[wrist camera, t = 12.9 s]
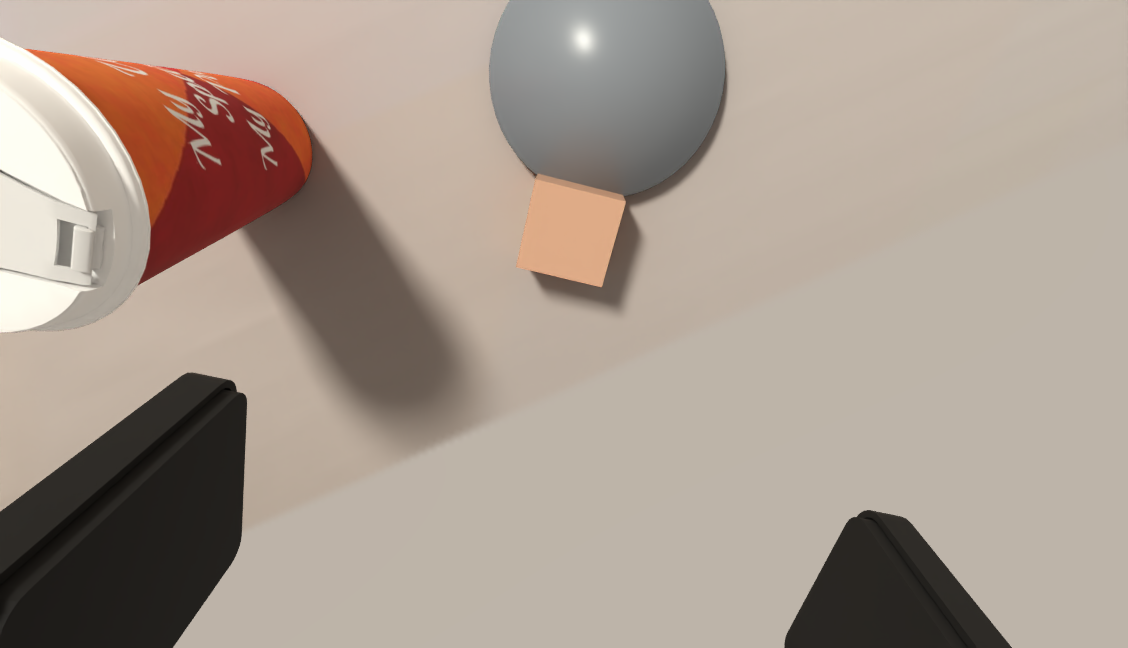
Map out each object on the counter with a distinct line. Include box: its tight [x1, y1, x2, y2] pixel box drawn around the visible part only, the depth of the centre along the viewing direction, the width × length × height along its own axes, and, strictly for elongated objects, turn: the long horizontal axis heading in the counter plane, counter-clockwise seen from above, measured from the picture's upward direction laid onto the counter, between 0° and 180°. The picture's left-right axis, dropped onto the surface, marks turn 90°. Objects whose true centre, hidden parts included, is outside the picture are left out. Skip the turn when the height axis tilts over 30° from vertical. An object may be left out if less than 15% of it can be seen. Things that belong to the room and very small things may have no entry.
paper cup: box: [0, 38, 312, 333], centre depth 20 cm, size 8×8×14 cm
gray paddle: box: [489, 0, 725, 287], centre depth 25 cm, size 14×10×2 cm
